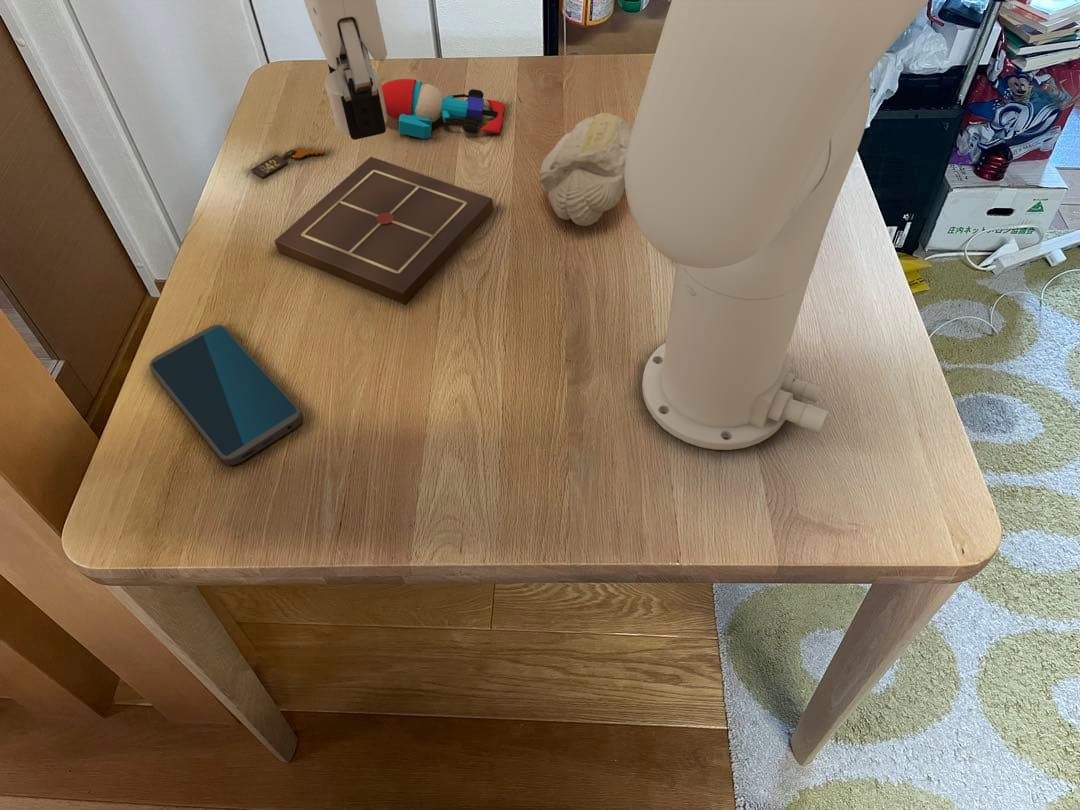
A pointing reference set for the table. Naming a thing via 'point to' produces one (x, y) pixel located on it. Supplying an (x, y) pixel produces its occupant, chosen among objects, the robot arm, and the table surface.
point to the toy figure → (436, 108)
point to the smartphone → (226, 394)
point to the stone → (336, 92)
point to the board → (385, 228)
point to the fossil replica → (587, 169)
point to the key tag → (281, 161)
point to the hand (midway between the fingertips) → (361, 116)
